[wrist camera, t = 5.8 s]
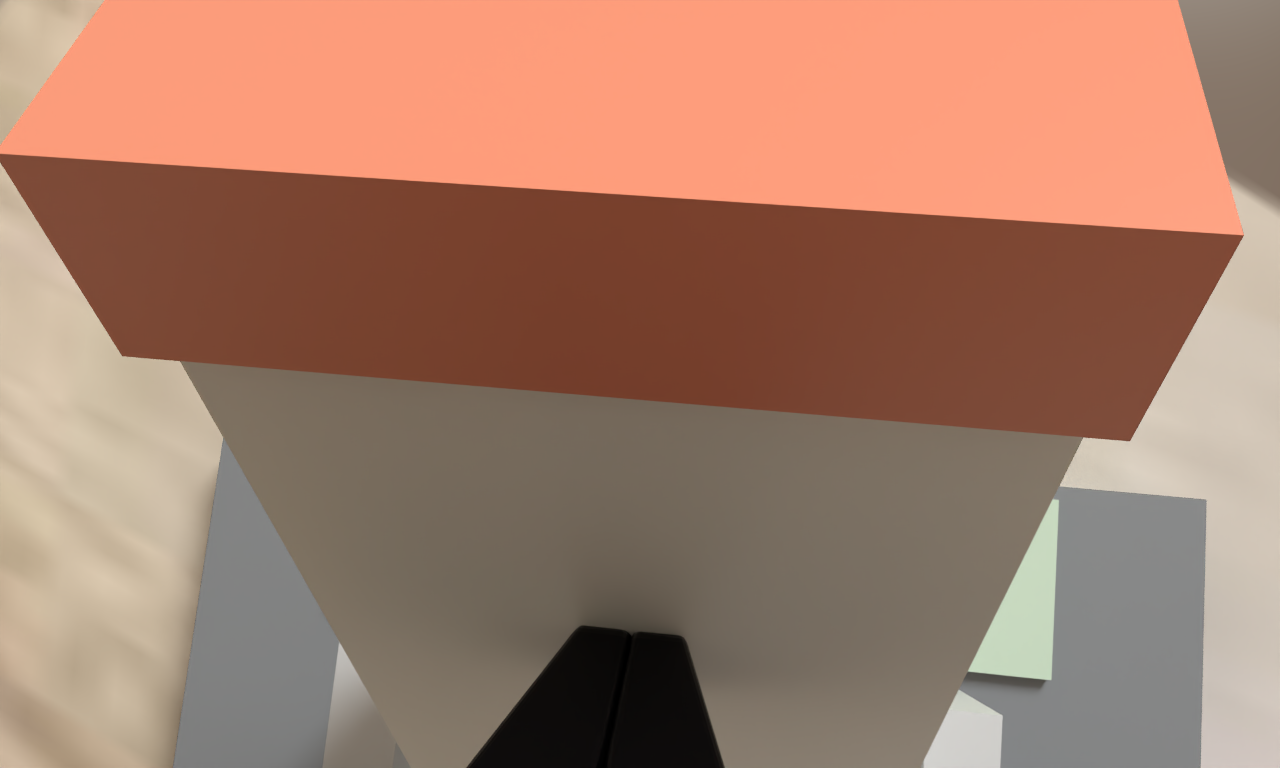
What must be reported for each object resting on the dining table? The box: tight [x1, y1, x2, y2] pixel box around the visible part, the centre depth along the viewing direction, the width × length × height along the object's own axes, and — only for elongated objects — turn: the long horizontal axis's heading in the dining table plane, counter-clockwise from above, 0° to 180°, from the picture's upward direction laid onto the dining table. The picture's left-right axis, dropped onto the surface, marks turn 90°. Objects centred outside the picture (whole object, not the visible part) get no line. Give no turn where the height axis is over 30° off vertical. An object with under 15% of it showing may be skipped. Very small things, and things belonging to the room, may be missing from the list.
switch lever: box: [0, 0, 1244, 768], centre depth 9 cm, size 2×5×10 cm, turn 82°
